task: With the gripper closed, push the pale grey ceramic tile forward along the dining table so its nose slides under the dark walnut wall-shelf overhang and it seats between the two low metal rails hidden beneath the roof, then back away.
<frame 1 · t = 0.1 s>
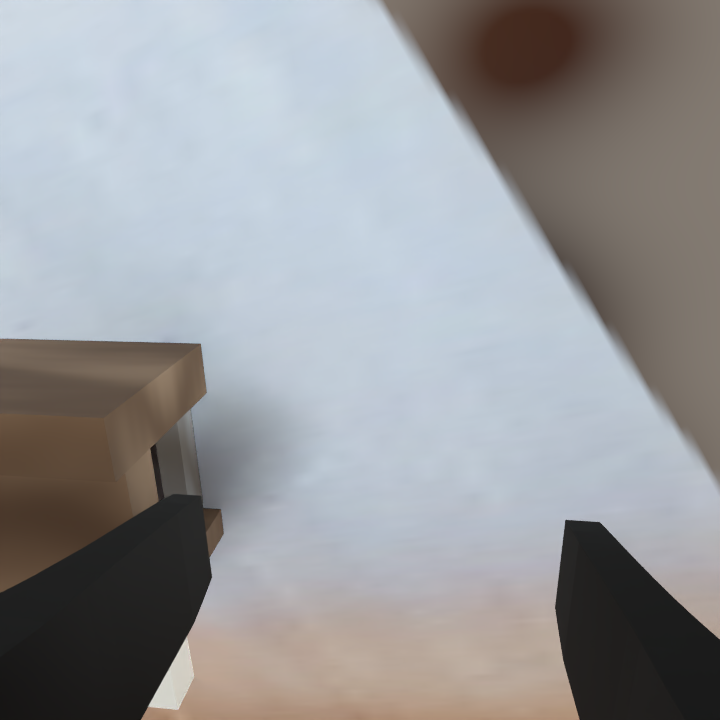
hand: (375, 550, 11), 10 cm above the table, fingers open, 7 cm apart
tile: (134, 591, 27), on the table
shelf: (98, 444, 24), on the table
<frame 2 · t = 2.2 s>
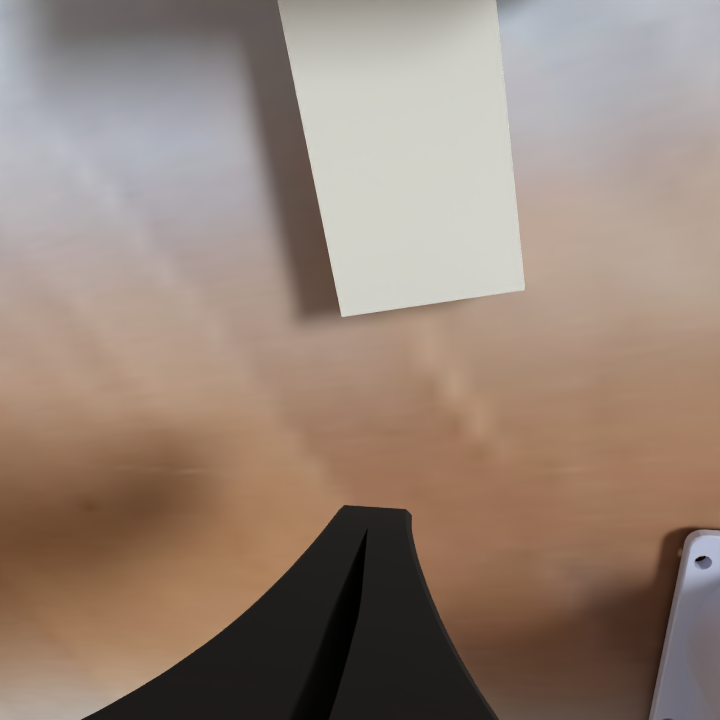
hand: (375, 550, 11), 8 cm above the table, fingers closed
tile: (409, 132, 16), on the table
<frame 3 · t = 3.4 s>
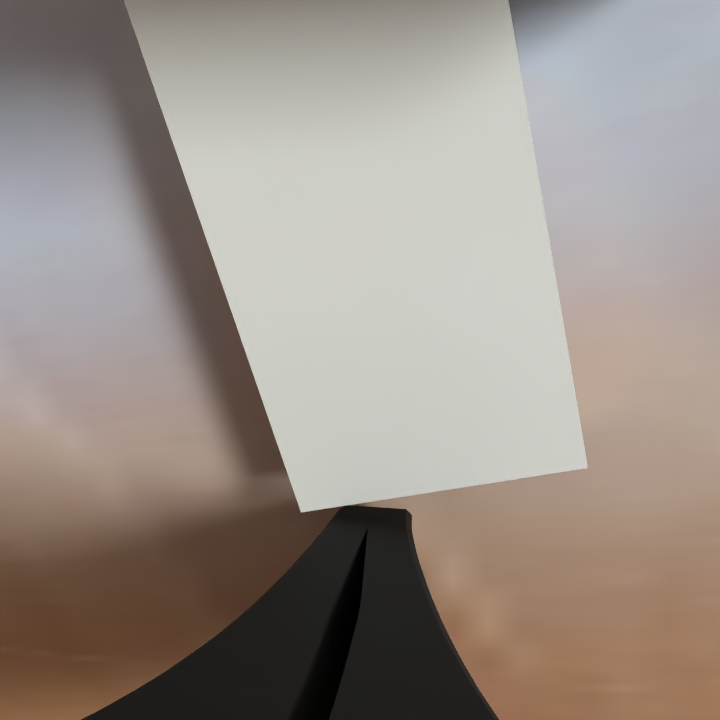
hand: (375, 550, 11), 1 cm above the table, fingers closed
tile: (384, 218, 11), on the table
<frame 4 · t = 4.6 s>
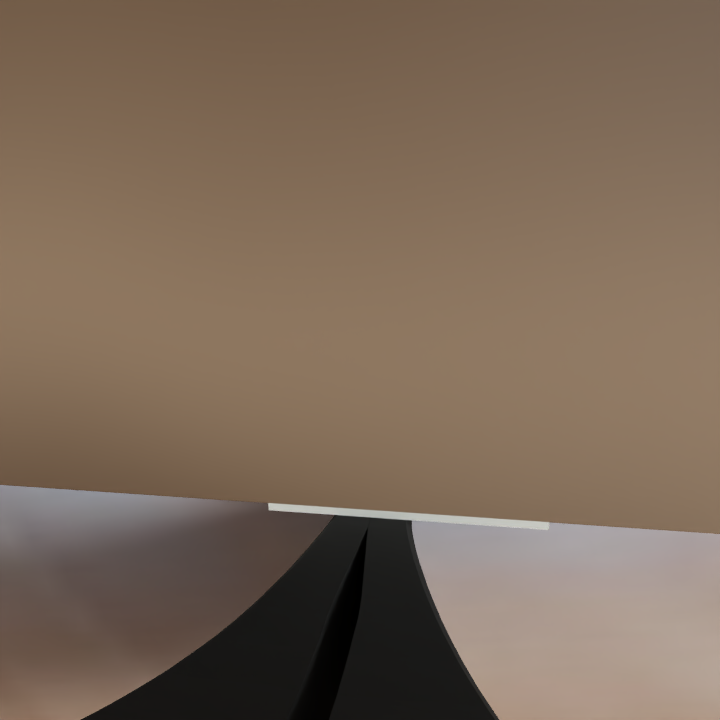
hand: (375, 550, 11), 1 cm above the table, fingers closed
tile: (414, 248, 11), on the table
shelf: (378, 90, 9), on the table
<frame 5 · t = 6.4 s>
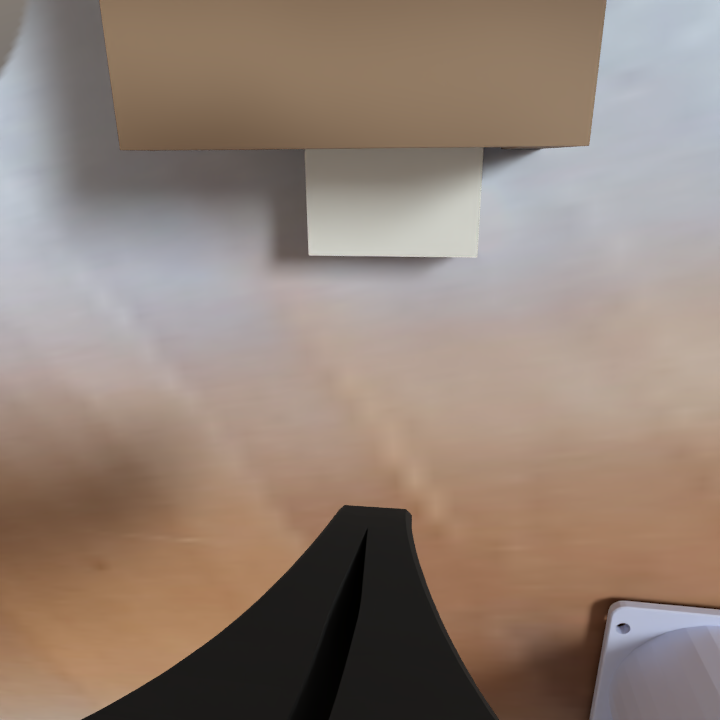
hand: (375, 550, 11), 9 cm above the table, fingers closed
tile: (398, 97, 17), on the table
shelf: (375, 0, 16), on the table
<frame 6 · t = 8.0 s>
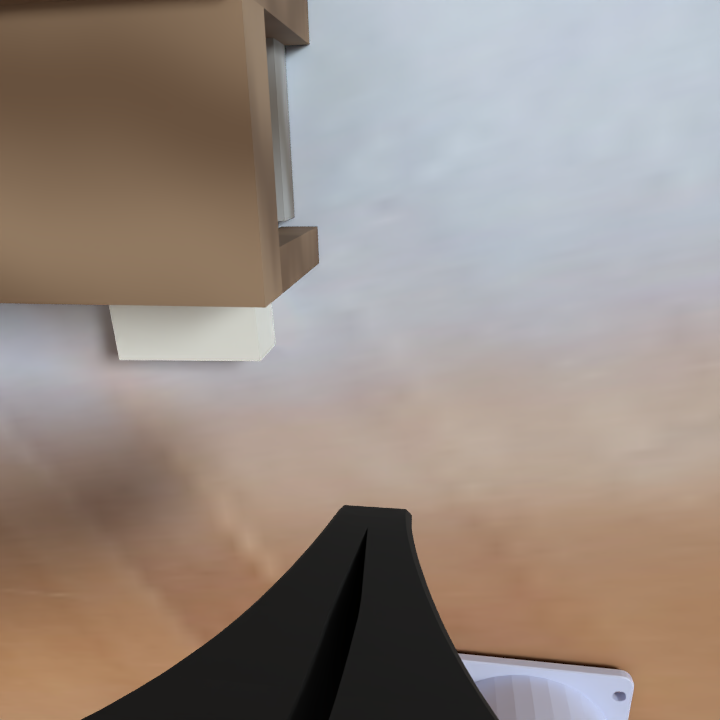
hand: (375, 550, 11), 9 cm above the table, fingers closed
tile: (196, 215, 20), on the table
shelf: (162, 138, 18), on the table
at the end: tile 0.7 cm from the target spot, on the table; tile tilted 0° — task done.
